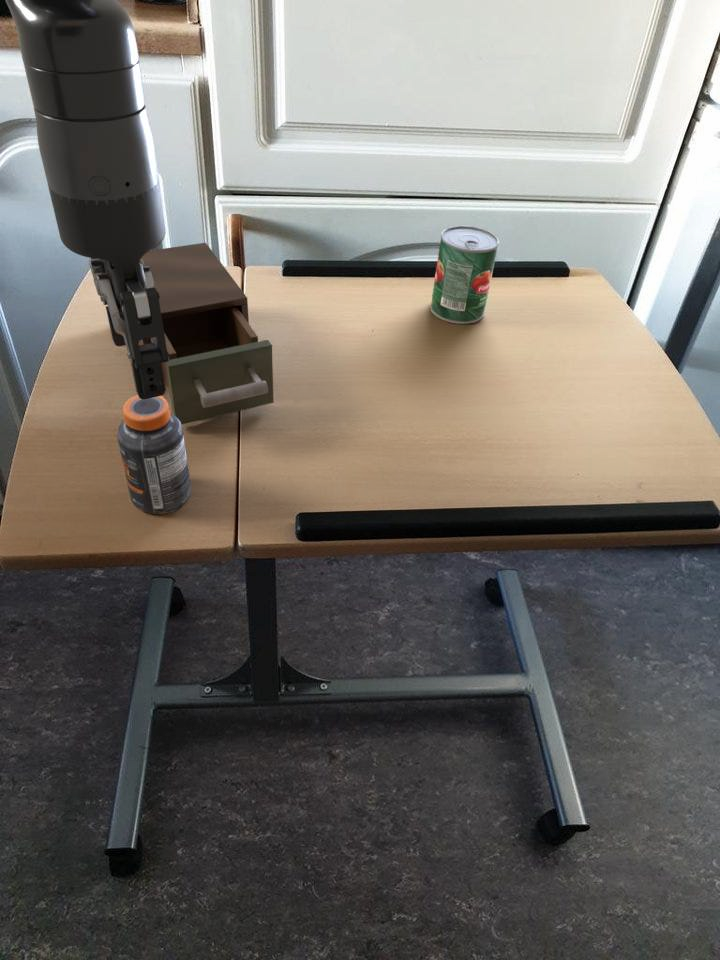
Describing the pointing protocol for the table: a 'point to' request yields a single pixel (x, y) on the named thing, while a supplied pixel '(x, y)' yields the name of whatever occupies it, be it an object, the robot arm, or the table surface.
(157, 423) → the pill bottle
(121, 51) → the robot arm
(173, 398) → the drawer
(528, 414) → the table surface
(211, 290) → the cabinet
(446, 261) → the canned tomato
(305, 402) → the table surface
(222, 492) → the table surface
